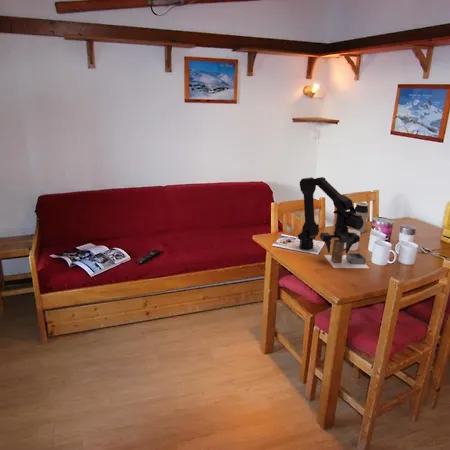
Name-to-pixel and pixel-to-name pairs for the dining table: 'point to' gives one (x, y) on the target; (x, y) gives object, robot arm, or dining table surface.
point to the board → (344, 263)
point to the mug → (355, 245)
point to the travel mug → (362, 214)
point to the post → (337, 251)
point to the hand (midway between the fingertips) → (337, 253)
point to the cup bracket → (355, 258)
